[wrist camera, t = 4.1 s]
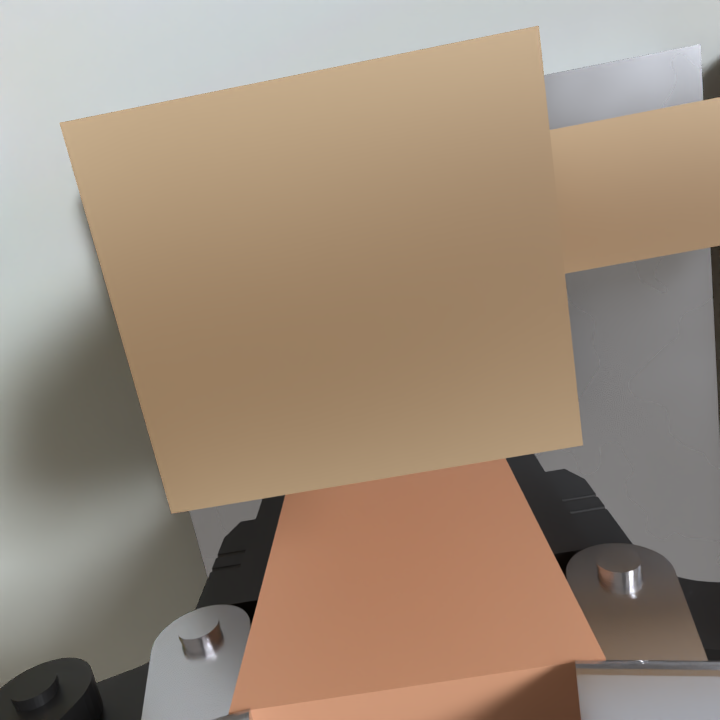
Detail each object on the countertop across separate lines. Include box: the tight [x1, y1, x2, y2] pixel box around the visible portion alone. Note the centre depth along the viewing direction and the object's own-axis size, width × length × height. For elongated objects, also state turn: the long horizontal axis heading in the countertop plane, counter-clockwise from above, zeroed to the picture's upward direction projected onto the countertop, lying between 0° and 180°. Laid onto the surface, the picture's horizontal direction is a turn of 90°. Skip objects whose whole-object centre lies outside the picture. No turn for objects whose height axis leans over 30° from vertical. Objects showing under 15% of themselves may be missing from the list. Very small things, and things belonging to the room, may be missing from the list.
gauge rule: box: [60, 26, 720, 514], centre depth 10 cm, size 15×11×8 cm
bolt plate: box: [189, 44, 720, 582], centre depth 14 cm, size 15×11×1 cm
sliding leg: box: [229, 458, 606, 720], centre depth 10 cm, size 3×4×7 cm
